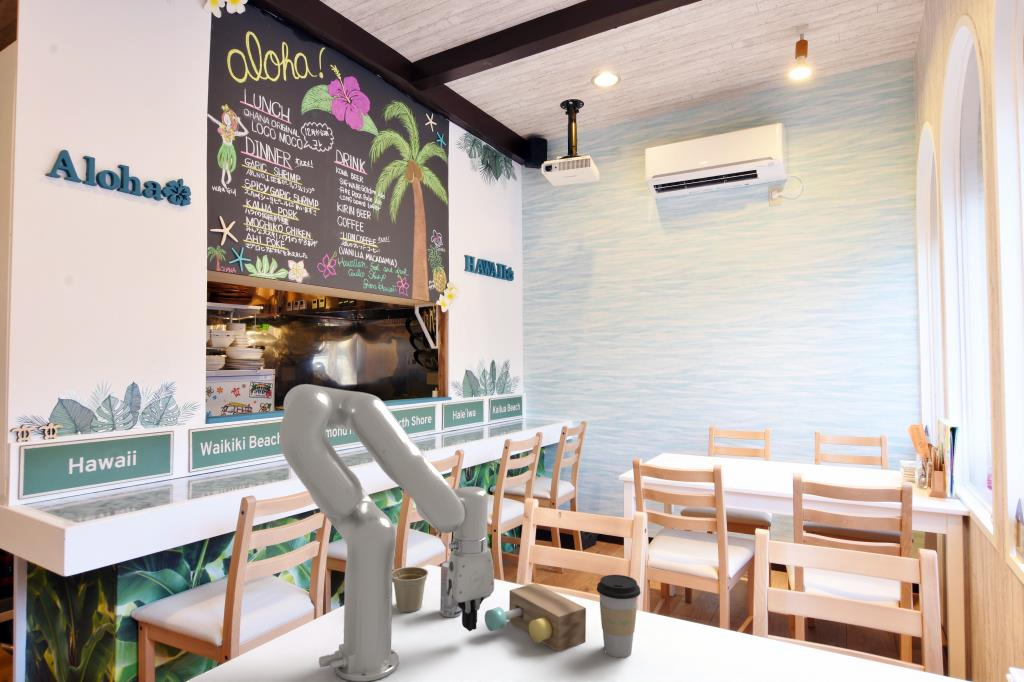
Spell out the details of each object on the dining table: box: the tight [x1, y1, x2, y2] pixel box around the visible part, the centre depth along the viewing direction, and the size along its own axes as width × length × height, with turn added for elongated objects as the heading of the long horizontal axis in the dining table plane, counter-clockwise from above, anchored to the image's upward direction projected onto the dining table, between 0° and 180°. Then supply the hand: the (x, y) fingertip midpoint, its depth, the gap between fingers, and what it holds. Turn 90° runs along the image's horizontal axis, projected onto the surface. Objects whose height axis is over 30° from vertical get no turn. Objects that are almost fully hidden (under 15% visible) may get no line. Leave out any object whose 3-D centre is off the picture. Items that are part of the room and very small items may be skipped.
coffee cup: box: [596, 574, 642, 658], centre depth 130 cm, size 9×9×15 cm
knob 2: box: [529, 617, 552, 643], centre depth 134 cm, size 11×4×4 cm, turn 127°
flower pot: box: [392, 566, 429, 613], centre depth 151 cm, size 9×9×9 cm
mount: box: [508, 582, 587, 653], centre depth 139 cm, size 8×18×8 cm, turn 37°
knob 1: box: [484, 606, 523, 632], centre depth 139 cm, size 11×4×4 cm, turn 127°
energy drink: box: [439, 560, 462, 619], centre depth 148 cm, size 5×5×12 cm
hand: (469, 627), depth 132 cm, fingers closed
